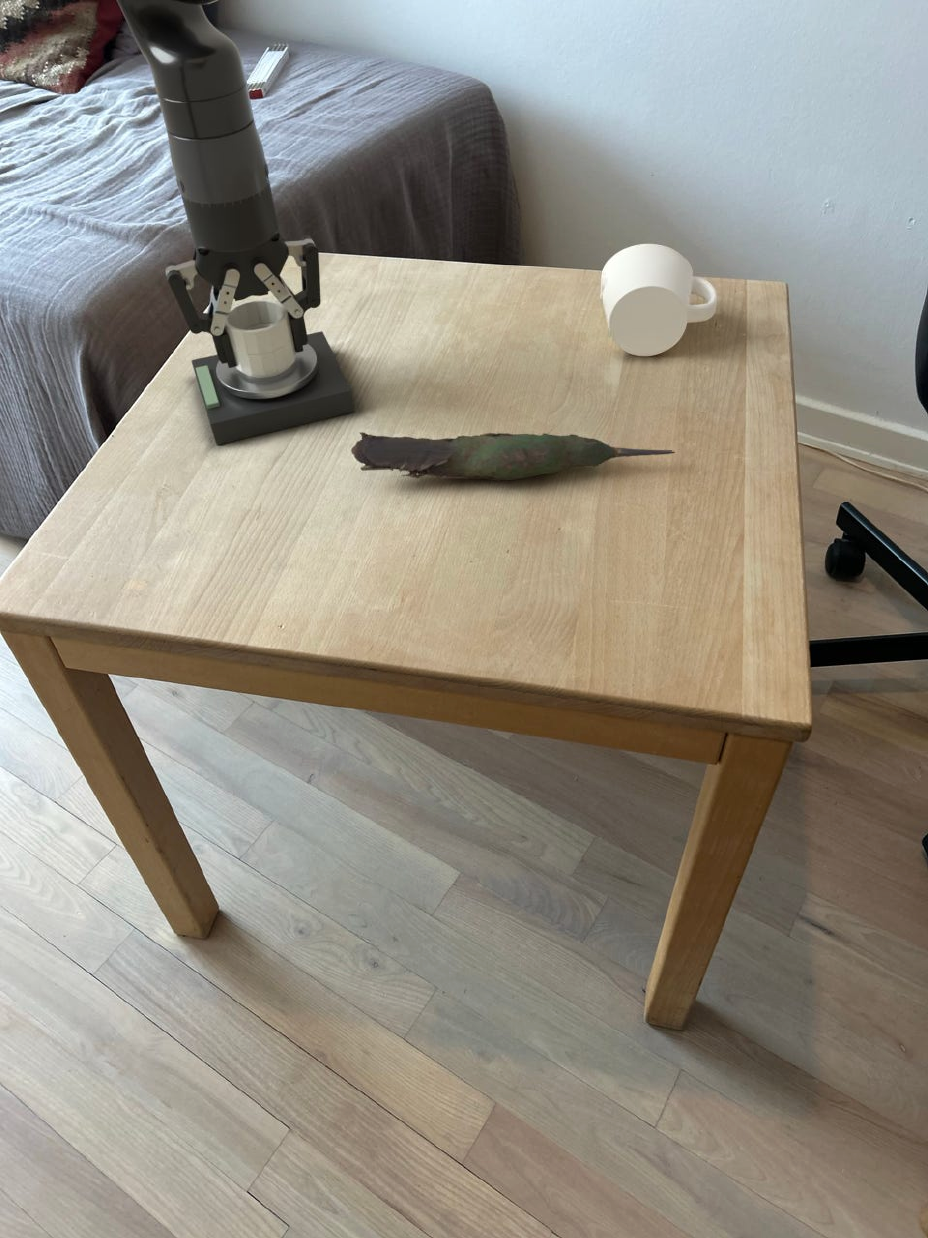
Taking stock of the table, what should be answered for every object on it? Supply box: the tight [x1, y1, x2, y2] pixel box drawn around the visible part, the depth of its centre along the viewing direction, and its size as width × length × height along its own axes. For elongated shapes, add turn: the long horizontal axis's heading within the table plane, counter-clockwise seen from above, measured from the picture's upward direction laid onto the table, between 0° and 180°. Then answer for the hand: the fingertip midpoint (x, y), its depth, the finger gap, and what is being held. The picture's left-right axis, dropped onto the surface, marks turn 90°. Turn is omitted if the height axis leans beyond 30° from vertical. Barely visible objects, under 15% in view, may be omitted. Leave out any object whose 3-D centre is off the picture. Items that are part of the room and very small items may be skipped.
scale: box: [191, 331, 356, 446], centre depth 89 cm, size 14×12×3 cm
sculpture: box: [350, 431, 676, 482], centre depth 79 cm, size 5×29×5 cm, turn 91°
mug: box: [599, 243, 719, 357], centre depth 92 cm, size 12×9×8 cm
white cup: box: [225, 298, 297, 378], centre depth 85 cm, size 6×6×5 cm
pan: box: [216, 344, 318, 399], centre depth 88 cm, size 10×10×1 cm
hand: (264, 355), depth 87 cm, fingers closed on white cup, 6 cm apart
